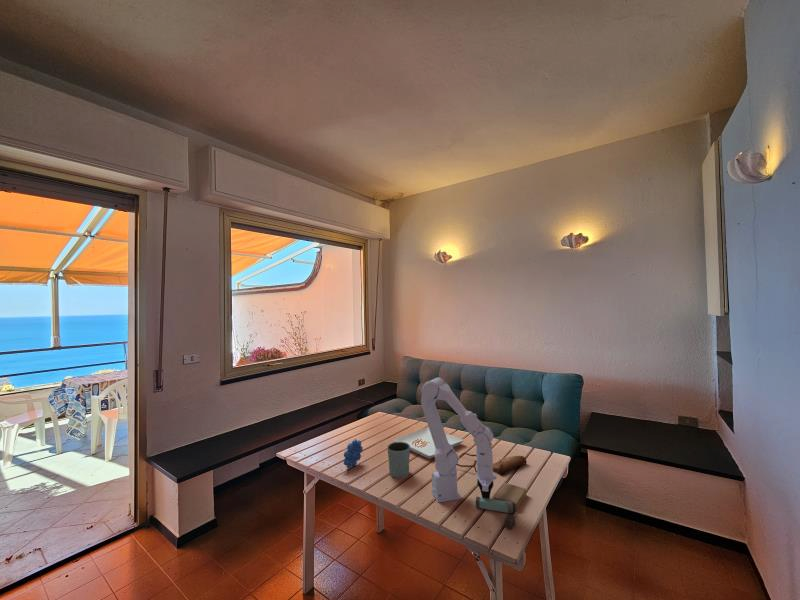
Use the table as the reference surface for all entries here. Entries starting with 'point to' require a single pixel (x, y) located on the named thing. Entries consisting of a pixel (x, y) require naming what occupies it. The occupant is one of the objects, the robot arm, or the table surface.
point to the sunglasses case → (508, 464)
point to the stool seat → (511, 500)
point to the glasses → (468, 465)
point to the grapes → (352, 453)
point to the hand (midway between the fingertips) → (485, 501)
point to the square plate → (426, 436)
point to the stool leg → (494, 505)
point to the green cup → (399, 459)
